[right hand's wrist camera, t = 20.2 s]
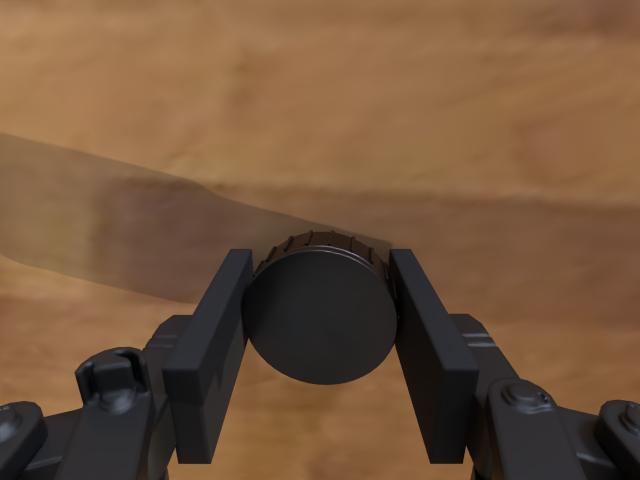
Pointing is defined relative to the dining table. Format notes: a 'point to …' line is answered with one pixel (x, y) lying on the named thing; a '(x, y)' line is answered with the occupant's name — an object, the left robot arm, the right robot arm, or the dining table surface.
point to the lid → (322, 309)
